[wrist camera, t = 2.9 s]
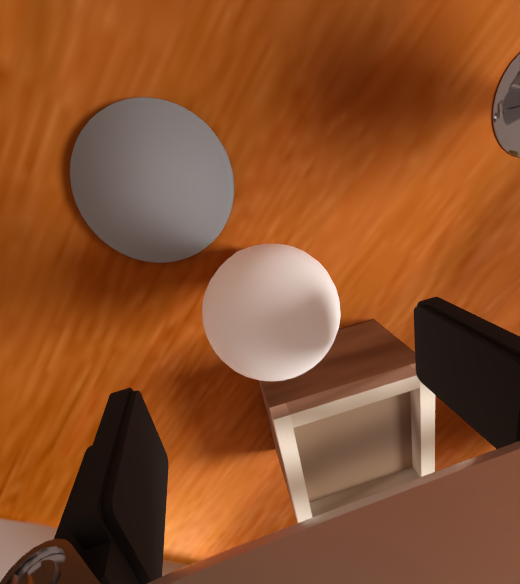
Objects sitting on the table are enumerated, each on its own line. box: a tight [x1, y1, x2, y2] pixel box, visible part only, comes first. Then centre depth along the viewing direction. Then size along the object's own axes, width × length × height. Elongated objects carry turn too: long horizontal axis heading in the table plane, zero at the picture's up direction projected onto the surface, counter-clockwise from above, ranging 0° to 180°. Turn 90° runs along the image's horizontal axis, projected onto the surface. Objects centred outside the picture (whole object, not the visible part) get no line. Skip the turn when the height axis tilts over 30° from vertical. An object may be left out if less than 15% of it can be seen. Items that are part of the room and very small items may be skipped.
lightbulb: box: [202, 244, 341, 381], centre depth 17 cm, size 6×6×11 cm
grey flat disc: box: [70, 97, 234, 263], centre depth 19 cm, size 9×9×1 cm
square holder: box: [258, 319, 435, 523], centre depth 24 cm, size 10×10×7 cm
